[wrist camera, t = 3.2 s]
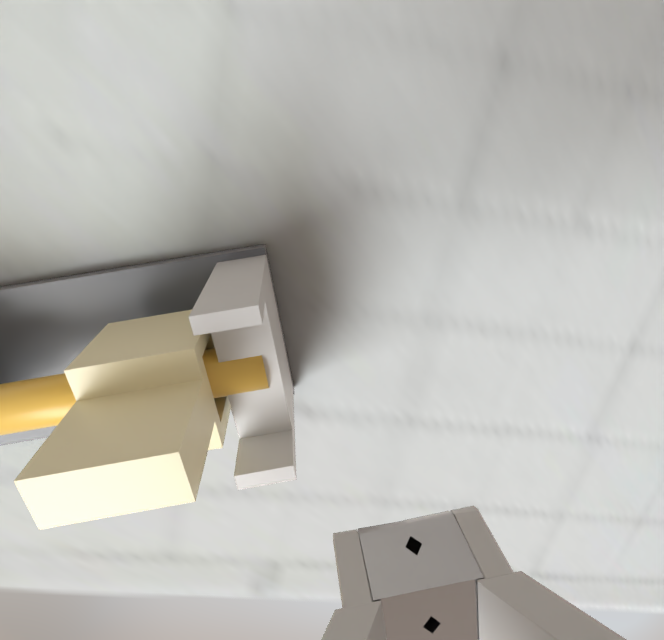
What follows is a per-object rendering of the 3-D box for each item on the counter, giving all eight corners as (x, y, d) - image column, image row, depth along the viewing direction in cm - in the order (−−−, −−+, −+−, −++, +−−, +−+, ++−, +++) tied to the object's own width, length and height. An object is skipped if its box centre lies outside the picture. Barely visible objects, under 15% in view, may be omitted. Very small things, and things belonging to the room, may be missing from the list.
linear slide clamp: (265, 244, 19) (255, 295, 13) (293, 387, 22) (297, 486, 16) (-102, 303, 18) (-293, 386, 12) (-26, 443, 21) (-152, 568, 15)
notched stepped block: (212, 306, 18) (166, 415, 11) (233, 390, 19) (205, 532, 12) (108, 323, 17) (-6, 444, 11) (138, 406, 19) (55, 560, 12)
